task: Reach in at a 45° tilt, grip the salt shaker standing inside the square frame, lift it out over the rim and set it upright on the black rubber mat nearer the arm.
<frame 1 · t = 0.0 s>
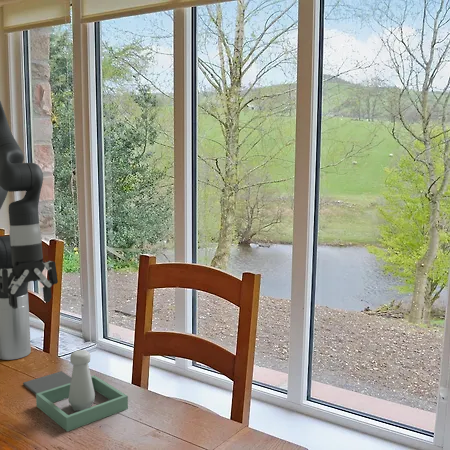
hand: (31, 304, 141), 17 cm above the table, tool pointing down, fingers open, 8 cm apart
square frame: (82, 407, 123), on the table
salt shaker: (82, 408, 123), resting in square frame
rubber mat: (51, 385, 134), on the table
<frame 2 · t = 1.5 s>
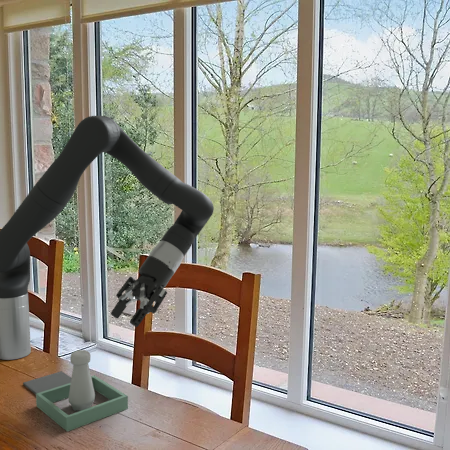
hand: (123, 320, 128), 18 cm above the table, tool tilted 45°, fingers open, 8 cm apart
nothing on the table moved.
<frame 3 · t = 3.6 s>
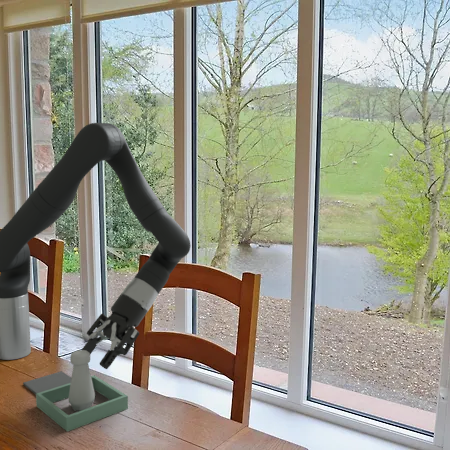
hand: (92, 361, 123), 10 cm above the table, tool tilted 45°, fingers open, 8 cm apart
nothing on the table moved.
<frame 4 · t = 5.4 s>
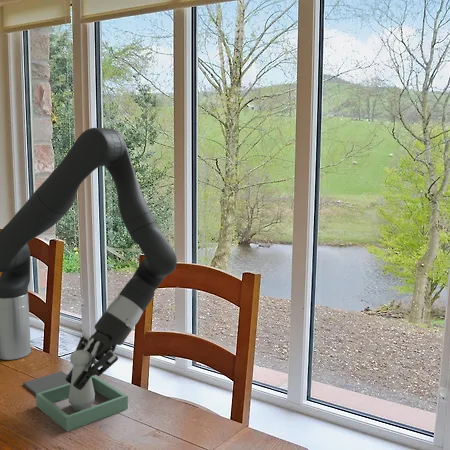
hand: (72, 384, 121), 6 cm above the table, tool tilted 45°, fingers closed on salt shaker, 3 cm apart
salt shaker: (82, 408, 123), resting in square frame, touching gripper
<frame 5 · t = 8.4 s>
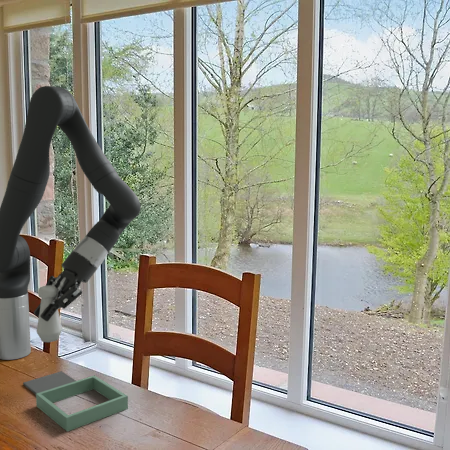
hand: (40, 317, 130), 18 cm above the table, tool tilted 45°, fingers closed on salt shaker, 3 cm apart
salt shaker: (49, 340, 132), point 12 cm above the table, touching gripper
when the fingers open (8 cm above the table, at t = 11.0 s): salt shaker moves 1 cm, resting on rubber mat.
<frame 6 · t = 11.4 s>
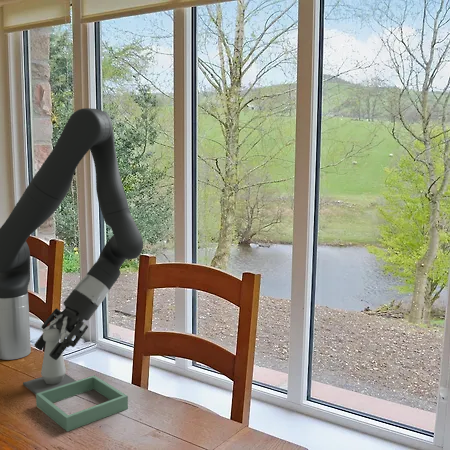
hand: (44, 352, 132), 9 cm above the table, tool tilted 45°, fingers open, 8 cm apart
salt shaker: (53, 381, 135), resting on rubber mat
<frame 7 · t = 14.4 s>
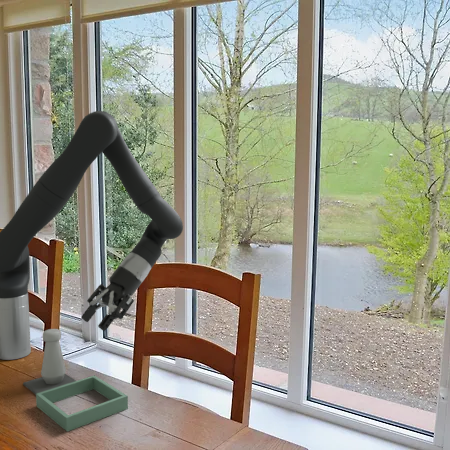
hand: (92, 324, 140), 13 cm above the table, tool tilted 45°, fingers open, 8 cm apart
nothing on the table moved.
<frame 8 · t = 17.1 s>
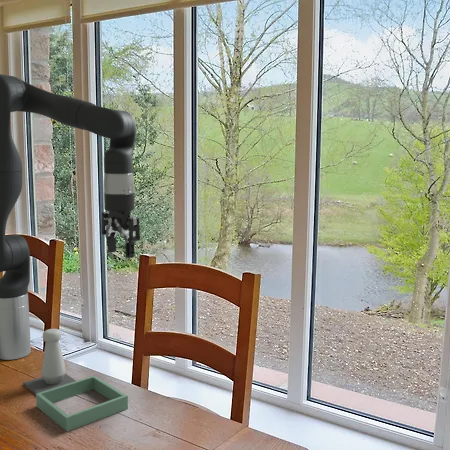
hand: (120, 254, 141), 30 cm above the table, tool pointing down, fingers open, 8 cm apart
nothing on the table moved.
at the end: salt shaker inside the target area (1.1 cm from its centre), resting on rubber mat; salt shaker tilted 0°; the gripper is holding nothing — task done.
